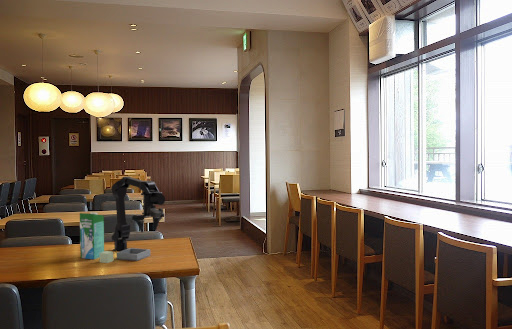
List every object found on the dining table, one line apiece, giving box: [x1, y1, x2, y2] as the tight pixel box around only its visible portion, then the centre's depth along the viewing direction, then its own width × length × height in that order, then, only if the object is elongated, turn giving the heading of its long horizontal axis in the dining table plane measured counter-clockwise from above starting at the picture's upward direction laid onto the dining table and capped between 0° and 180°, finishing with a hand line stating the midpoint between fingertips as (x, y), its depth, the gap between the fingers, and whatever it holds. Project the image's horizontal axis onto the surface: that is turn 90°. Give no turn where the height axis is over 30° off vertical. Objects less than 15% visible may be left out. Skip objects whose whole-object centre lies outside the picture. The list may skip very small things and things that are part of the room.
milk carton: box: [79, 211, 105, 260], centre depth 258 cm, size 9×9×25 cm
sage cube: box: [99, 250, 114, 264], centre depth 248 cm, size 5×5×5 cm
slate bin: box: [116, 247, 151, 262], centre depth 257 cm, size 13×13×4 cm
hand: (148, 231), depth 261 cm, fingers open, 9 cm apart
